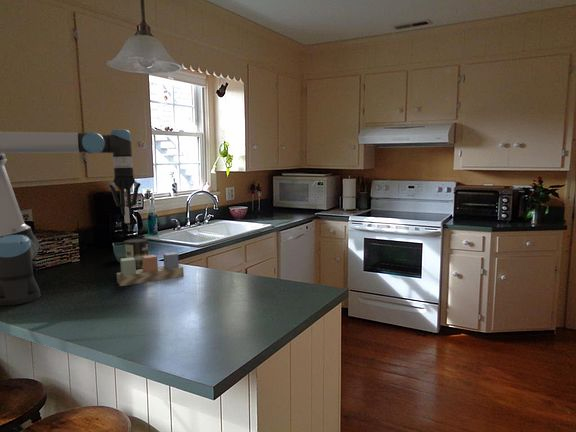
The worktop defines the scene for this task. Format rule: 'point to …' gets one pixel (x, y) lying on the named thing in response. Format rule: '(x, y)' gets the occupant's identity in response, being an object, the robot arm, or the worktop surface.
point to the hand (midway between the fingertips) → (127, 222)
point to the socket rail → (149, 276)
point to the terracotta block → (150, 263)
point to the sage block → (128, 266)
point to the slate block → (171, 260)
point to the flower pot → (119, 250)
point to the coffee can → (136, 250)
